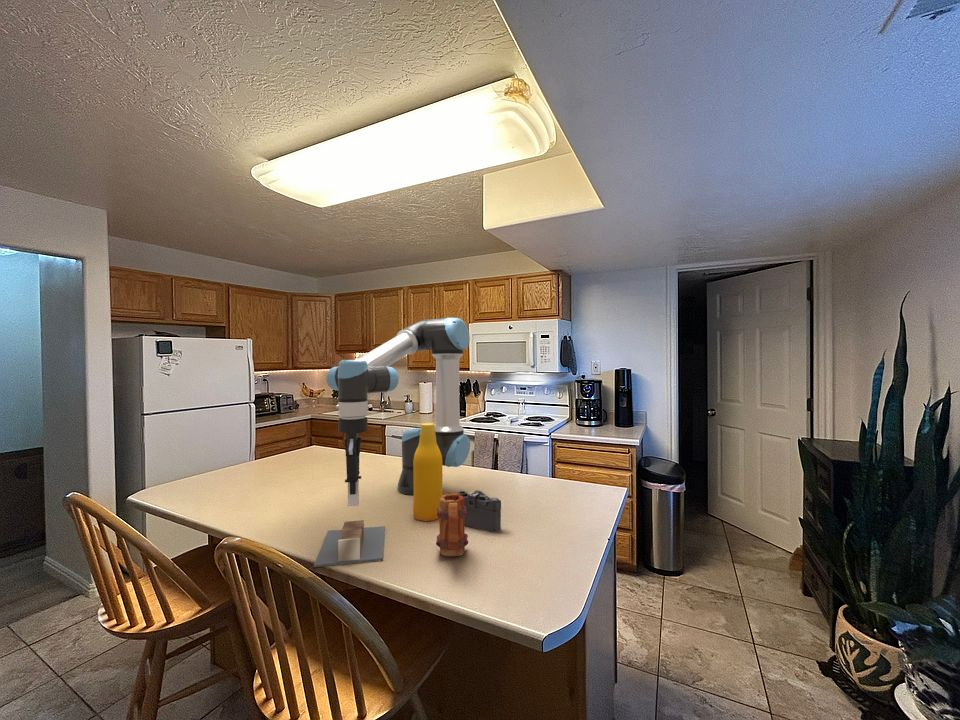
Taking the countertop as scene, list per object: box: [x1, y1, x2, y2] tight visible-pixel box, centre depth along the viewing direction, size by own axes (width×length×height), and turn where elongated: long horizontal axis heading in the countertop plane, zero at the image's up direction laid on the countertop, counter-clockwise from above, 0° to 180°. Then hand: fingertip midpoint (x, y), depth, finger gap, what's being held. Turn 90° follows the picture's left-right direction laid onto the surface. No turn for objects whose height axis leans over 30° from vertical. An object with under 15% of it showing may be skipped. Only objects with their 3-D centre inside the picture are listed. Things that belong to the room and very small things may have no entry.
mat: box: [313, 525, 386, 568], centre depth 109 cm, size 16×20×1 cm
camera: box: [456, 489, 502, 533], centre depth 124 cm, size 14×11×10 cm
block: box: [338, 519, 365, 562], centre depth 105 cm, size 5×5×12 cm
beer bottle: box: [412, 422, 444, 522], centre depth 129 cm, size 9×9×29 cm
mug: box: [435, 492, 469, 558], centre depth 102 cm, size 15×8×15 cm, turn 5°
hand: (353, 504), depth 110 cm, fingers closed
